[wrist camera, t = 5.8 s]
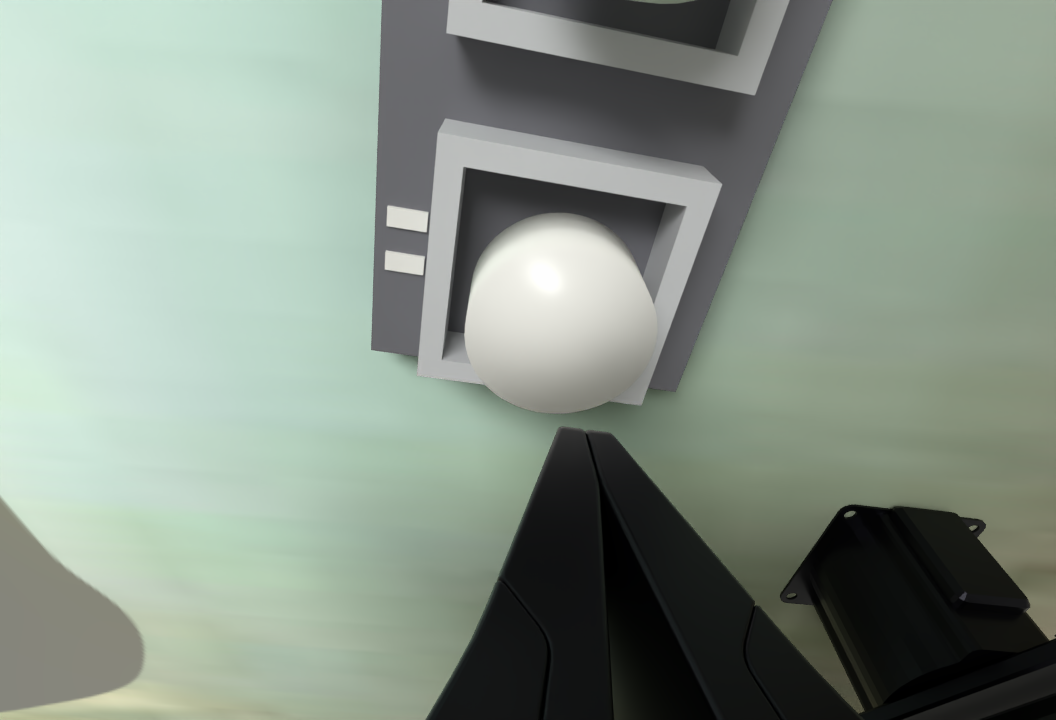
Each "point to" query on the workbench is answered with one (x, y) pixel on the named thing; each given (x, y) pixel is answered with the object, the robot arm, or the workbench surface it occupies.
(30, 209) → the workbench surface
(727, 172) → the control board
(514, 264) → the button white
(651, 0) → the button sage
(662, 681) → the robot arm
